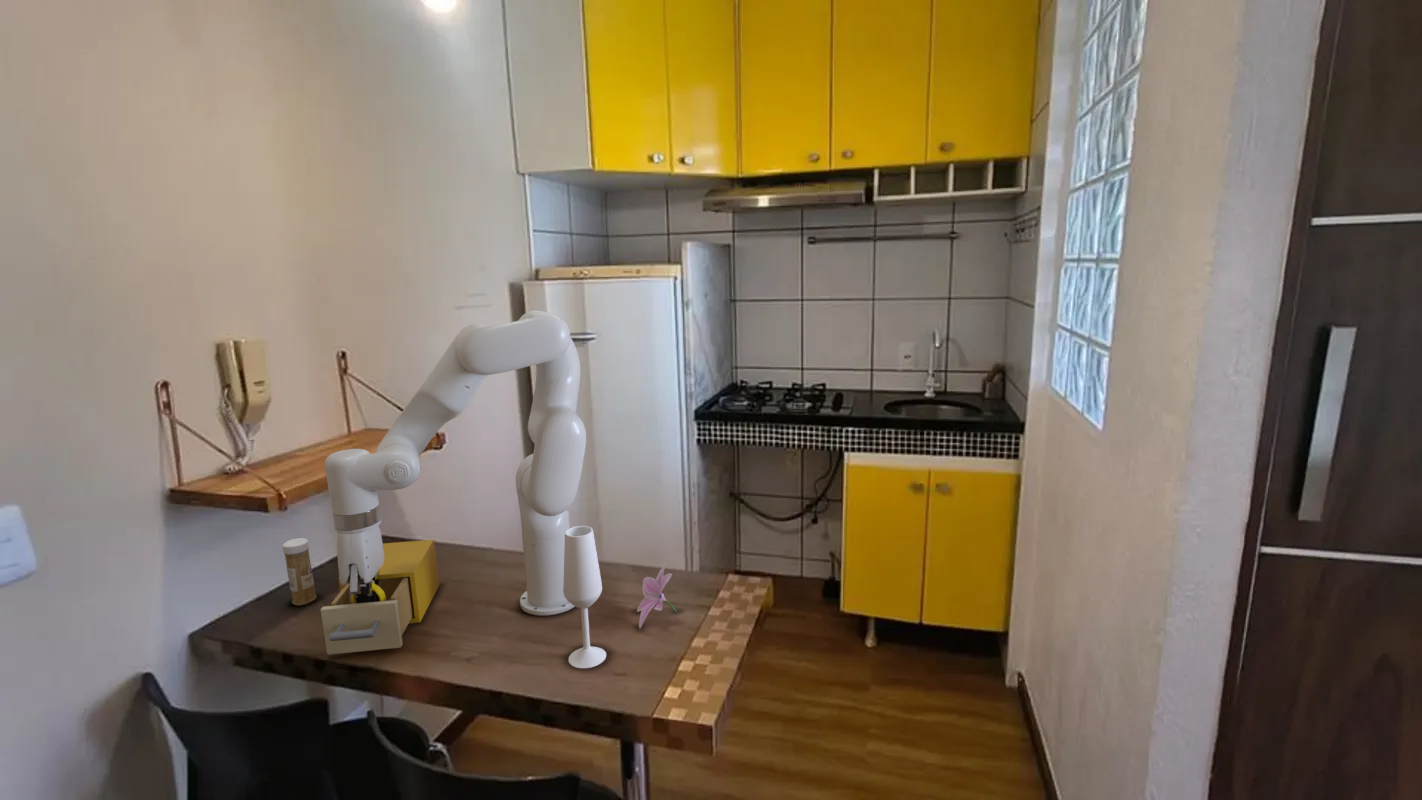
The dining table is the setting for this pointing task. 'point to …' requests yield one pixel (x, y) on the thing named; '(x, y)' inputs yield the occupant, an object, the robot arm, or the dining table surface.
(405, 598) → the drawer
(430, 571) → the cabinet
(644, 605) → the lily
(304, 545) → the sprinkles bottle
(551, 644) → the dining table surface
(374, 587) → the watch
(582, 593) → the champagne flute
